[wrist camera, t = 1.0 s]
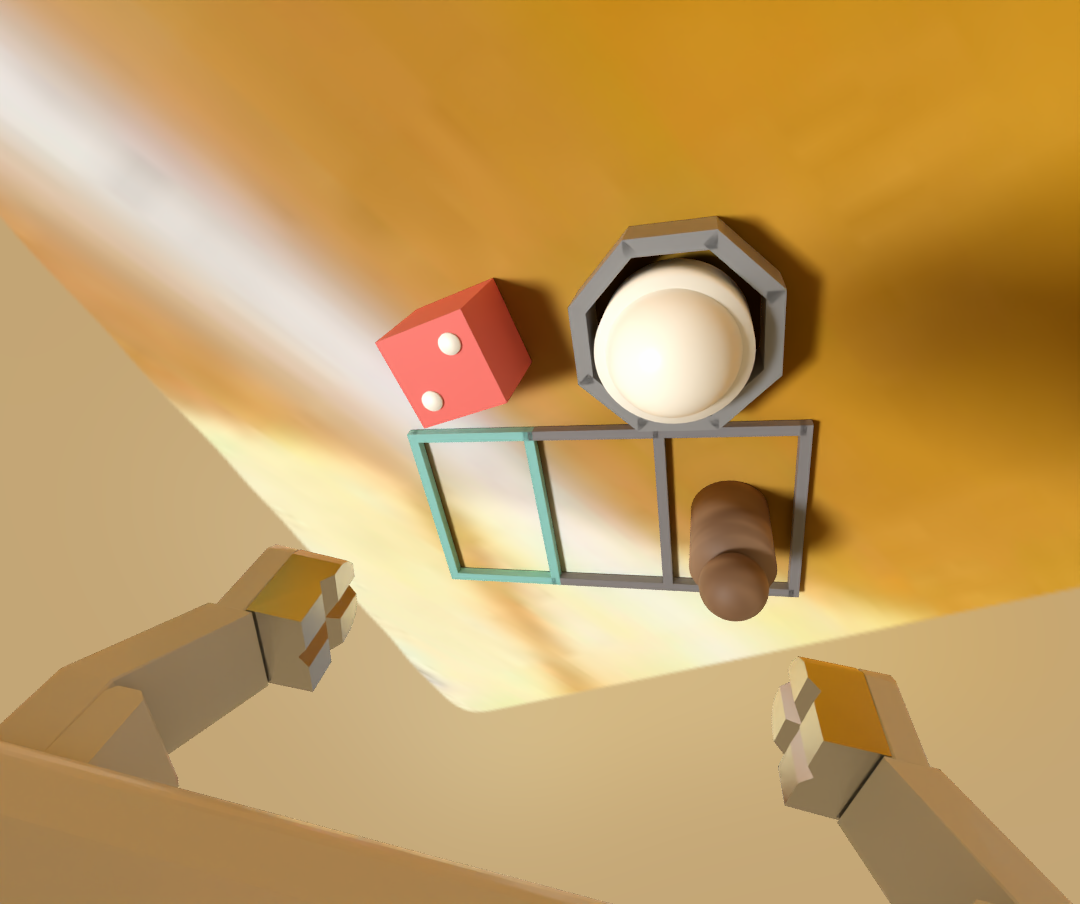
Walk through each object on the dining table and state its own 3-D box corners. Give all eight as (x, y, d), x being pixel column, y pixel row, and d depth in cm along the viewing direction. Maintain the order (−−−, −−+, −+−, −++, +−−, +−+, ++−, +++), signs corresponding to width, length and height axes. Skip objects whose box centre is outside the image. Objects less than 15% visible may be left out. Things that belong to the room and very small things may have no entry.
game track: (812, 419, 31) (813, 425, 30) (797, 590, 37) (798, 597, 36) (411, 430, 37) (407, 434, 37) (455, 573, 43) (452, 578, 43)
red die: (493, 277, 31) (459, 309, 26) (531, 362, 33) (506, 404, 29) (416, 309, 33) (373, 343, 28) (457, 386, 35) (423, 429, 31)
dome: (752, 247, 26) (763, 286, 21) (749, 389, 30) (757, 451, 25) (597, 263, 28) (574, 303, 23) (611, 394, 32) (593, 453, 27)
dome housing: (783, 207, 26) (790, 220, 24) (774, 402, 31) (779, 428, 28) (571, 233, 29) (559, 247, 26) (593, 408, 33) (585, 433, 31)
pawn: (770, 480, 33) (785, 580, 27) (767, 540, 35) (781, 646, 29) (690, 480, 34) (686, 575, 28) (692, 538, 37) (689, 639, 30)
